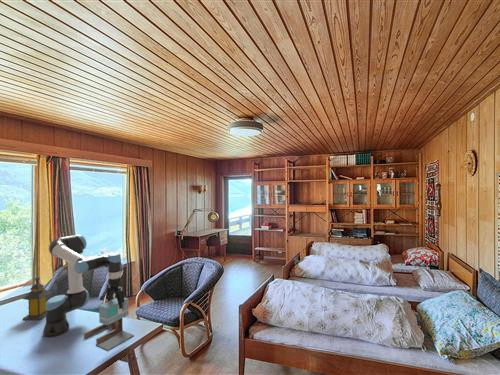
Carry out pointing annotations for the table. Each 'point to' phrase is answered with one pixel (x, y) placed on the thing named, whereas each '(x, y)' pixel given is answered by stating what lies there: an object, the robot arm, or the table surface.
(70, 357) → the table surface
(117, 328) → the shelf cradle
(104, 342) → the rubber mat
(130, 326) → the table surface
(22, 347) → the table surface
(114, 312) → the radio
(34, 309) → the lantern
